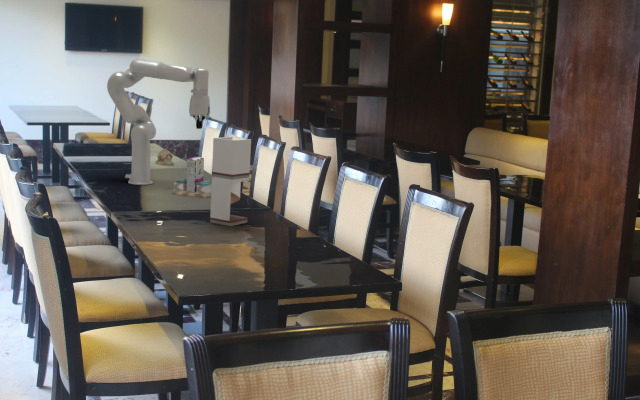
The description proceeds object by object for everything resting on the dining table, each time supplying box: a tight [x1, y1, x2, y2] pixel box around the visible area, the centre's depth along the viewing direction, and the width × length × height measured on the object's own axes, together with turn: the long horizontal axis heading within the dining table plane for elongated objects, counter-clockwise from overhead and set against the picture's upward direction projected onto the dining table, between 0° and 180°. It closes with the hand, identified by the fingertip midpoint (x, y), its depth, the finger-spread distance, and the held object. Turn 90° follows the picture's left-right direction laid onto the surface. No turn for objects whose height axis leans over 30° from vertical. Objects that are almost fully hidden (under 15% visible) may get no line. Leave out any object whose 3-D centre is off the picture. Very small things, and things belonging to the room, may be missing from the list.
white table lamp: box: [209, 136, 252, 227], centre depth 331 cm, size 11×11×35 cm
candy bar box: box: [186, 156, 205, 192], centre depth 398 cm, size 11×5×16 cm, turn 167°
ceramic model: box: [155, 148, 175, 167], centre depth 504 cm, size 14×11×10 cm
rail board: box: [171, 177, 212, 199], centre depth 399 cm, size 18×14×6 cm
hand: (199, 128), depth 414 cm, fingers closed
